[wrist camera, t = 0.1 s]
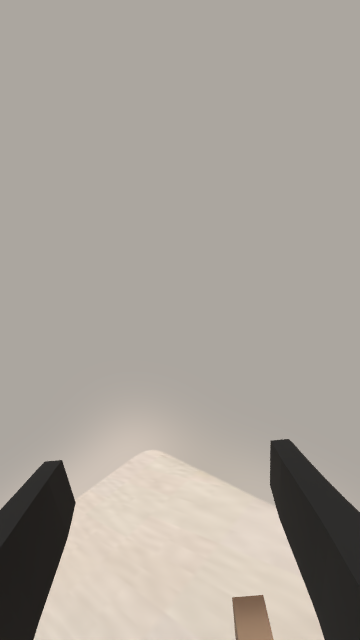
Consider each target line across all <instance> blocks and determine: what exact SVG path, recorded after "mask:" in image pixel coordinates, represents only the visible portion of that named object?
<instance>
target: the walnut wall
mask: <svg viewBox="0 0 360 640" xmlns="http://www.w3.org/2000/svg"><path fill="white" fill-rule="evenodd" d="M232 600H233V612H234V623H235V634H236V640H273V636H272V631H271V627H270V623H269V618H268V614H267V610H266V605H265V601H264V597H263V595H258V596H246V597H233V598H232Z"/></svg>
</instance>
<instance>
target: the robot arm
mask: <svg viewBox="0 0 360 640" xmlns="http://www.w3.org/2000/svg"><path fill="white" fill-rule="evenodd" d="M270 461H271V462H270V486H271V490H272V493H273V497H274V501H275V504H276V508H277V511H278V515H279V518H280V521H281V523H282V526H283V529H284V531H285V534H286V536H287V539H288V542H289V544H290V547H291V549H292V552H293V554H294V557H295V559H296V562H297V565H298V567H299V570H300V572H301V575H302V577H303V580H304V582H305V585H306V588H307V590H308V593H309V595H310V598H311V600H312V603H313V606H314V609H315V611H316V614H317V617H318V620H319V623H320V626H321V629H322V632H323V635H324V639H325V640H360V512H359V511H358V510H357V509H356V508H355V507H354V506H352V505H351V504H350V503H349V502H348V501H347V500H346V499H345V498H344V497H343V496H342V495H341V494H340V493H339V492H338V491H337V490H336V489H335V488H334V487H333V486H332V485H331V484H330V483H329V482H328V481H327V480H326V479H325V478H324V477H323V476H322V475H321V473H320V472H319V471H318V470H317V469H316V468H315V467H314V466H313V465H312V464H311V463H310V462H309V461H308V460H307V458H306V457H305V456H304V455H303V454H302V453H301V452H300V451H299V449H298V448H297V447H296V446H295V445H294V444H293V443H292V442H291V441H290V440H289V439H284V440H274V441H271V451H270ZM74 507H75V499H74V496H73V493H72V490H71V487H70V484H69V481H68V478H67V474H66V471H65V468H64V465H63V462H62V460H59V461H48V462H44V463H43V464H42V465H41V466H40V467H39V468H38V469H37V470H36V472H35V473H34V474H33V475H32V476H31V477H30V478H29V479H28V480H27V482H26V483H25V484H24V485H23V486H22V487H21V488H20V489H19V490H18V492H17V493H16V494H15V495H14V496H13V497H12V498H11V499H10V500H9V501H8V502H7V503H6V505H5V506H4V507H3V508H2V509H1V510H0V640H33V639H34V636H35V633H36V629H37V626H38V623H39V620H40V617H41V614H42V611H43V608H44V605H45V602H46V600H47V597H48V594H49V591H50V588H51V585H52V582H53V579H54V576H55V573H56V570H57V568H58V565H59V562H60V559H61V556H62V553H63V550H64V547H65V544H66V541H67V538H68V534H69V529H70V525H71V521H72V516H73V512H74Z"/></svg>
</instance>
